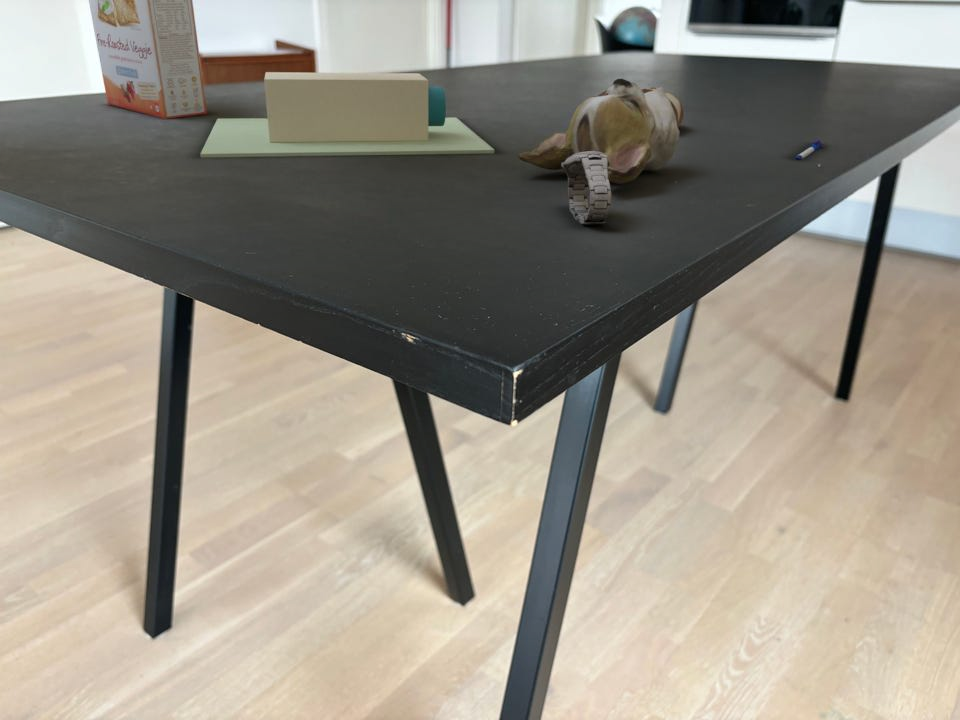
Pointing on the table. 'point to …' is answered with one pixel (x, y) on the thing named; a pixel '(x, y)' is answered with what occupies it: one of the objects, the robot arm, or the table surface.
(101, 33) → the cracker box
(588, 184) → the wristwatch
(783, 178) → the table surface
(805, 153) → the blue and white marker
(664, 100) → the ceramic sculpture
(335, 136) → the cream rectangular block
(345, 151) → the mat
